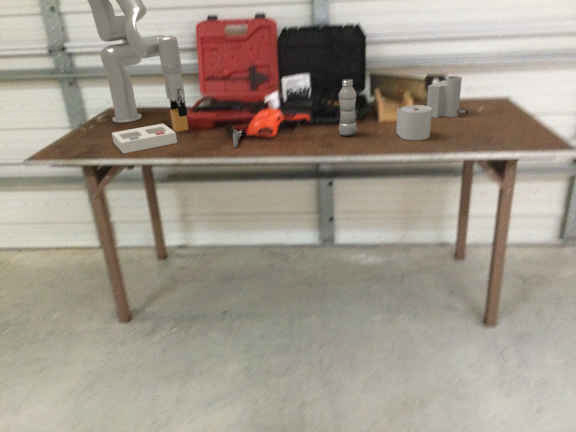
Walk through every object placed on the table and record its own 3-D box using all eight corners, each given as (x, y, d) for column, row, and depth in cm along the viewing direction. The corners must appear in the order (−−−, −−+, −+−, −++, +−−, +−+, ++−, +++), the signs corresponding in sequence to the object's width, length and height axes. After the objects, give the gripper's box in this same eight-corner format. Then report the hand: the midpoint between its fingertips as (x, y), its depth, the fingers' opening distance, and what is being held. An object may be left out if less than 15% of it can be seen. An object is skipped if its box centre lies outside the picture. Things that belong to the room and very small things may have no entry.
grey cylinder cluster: (441, 109, 214) (444, 73, 207) (473, 114, 205) (477, 76, 198) (426, 116, 206) (428, 78, 200) (458, 121, 197) (462, 81, 190)
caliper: (236, 148, 182) (235, 131, 180) (233, 148, 182) (232, 131, 180) (246, 131, 201) (245, 116, 198) (243, 131, 201) (242, 116, 198)
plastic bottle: (358, 132, 190) (359, 78, 182) (353, 138, 185) (353, 82, 176) (342, 131, 193) (342, 77, 184) (336, 136, 187) (335, 81, 179)
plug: (172, 129, 209) (169, 109, 205) (184, 127, 211) (181, 107, 207) (176, 132, 205) (173, 112, 201) (188, 129, 207) (185, 110, 203)
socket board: (113, 142, 196) (111, 131, 194) (164, 133, 204) (162, 121, 202) (123, 153, 183) (120, 141, 181) (177, 142, 191) (175, 130, 189)
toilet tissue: (429, 141, 177) (431, 112, 173) (394, 140, 180) (395, 112, 176) (429, 132, 186) (431, 104, 182) (396, 131, 189) (397, 104, 185)
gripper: (156, 69, 203) (164, 111, 210) (169, 73, 189) (177, 119, 196) (174, 66, 206) (181, 108, 213) (188, 70, 192) (195, 115, 199)
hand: (179, 113), depth 205 cm, fingers open, 9 cm apart
